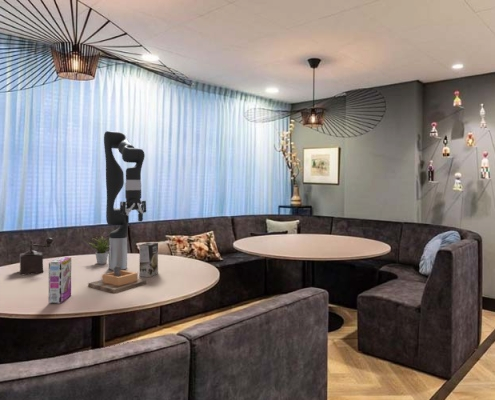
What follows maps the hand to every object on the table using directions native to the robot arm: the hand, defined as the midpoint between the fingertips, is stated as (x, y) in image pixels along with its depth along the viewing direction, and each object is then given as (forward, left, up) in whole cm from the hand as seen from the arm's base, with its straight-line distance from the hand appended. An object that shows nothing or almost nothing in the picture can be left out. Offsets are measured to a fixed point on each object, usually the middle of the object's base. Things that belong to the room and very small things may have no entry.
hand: (133, 222), depth 186 cm
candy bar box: (+2, -39, -28) cm, 48 cm away
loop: (+3, -10, -27) cm, 29 cm away
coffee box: (0, +10, -28) cm, 30 cm away
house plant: (-44, +15, -28) cm, 54 cm away
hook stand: (+3, -12, -28) cm, 31 cm away
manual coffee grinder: (-53, -19, -28) cm, 63 cm away
